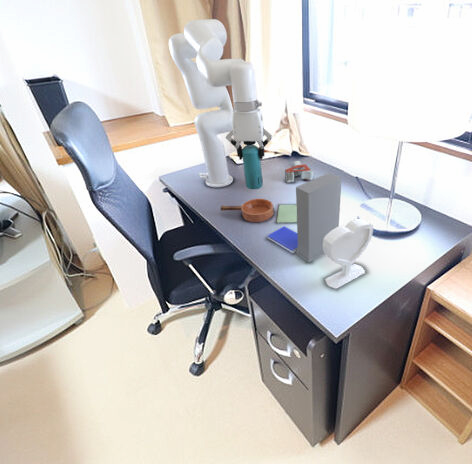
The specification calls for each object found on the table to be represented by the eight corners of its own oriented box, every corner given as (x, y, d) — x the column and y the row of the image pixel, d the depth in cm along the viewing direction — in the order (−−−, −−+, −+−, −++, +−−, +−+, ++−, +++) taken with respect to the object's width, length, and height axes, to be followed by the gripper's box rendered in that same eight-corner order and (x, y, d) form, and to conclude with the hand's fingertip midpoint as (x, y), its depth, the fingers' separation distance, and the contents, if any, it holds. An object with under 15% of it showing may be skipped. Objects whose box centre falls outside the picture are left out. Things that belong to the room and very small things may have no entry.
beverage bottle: (260, 194, 117) (255, 141, 105) (243, 192, 118) (236, 139, 106) (265, 185, 122) (261, 134, 111) (249, 184, 123) (243, 133, 112)
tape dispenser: (297, 167, 166) (273, 179, 152) (297, 157, 163) (272, 168, 149) (326, 173, 157) (303, 186, 143) (326, 163, 154) (303, 175, 140)
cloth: (276, 222, 121) (276, 222, 120) (279, 205, 131) (279, 204, 131) (303, 222, 120) (303, 222, 120) (303, 205, 131) (303, 204, 131)
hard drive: (309, 239, 109) (284, 225, 116) (292, 250, 104) (267, 235, 111) (309, 242, 110) (284, 229, 117) (292, 253, 105) (267, 239, 112)
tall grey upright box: (325, 237, 112) (327, 171, 98) (338, 245, 109) (342, 178, 94) (296, 254, 105) (293, 186, 90) (308, 263, 101) (308, 193, 87)
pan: (240, 222, 121) (238, 214, 119) (245, 206, 131) (244, 198, 129) (271, 222, 121) (271, 214, 119) (274, 206, 131) (274, 198, 129)
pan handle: (220, 210, 124) (220, 207, 124) (221, 208, 126) (221, 205, 125) (242, 210, 124) (241, 207, 124) (242, 208, 126) (242, 205, 125)
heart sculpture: (330, 291, 91) (333, 241, 80) (320, 281, 94) (320, 232, 84) (369, 270, 98) (376, 221, 88) (358, 261, 101) (363, 213, 91)
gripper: (273, 102, 105) (276, 154, 116) (221, 102, 106) (229, 154, 116) (271, 108, 99) (274, 162, 110) (216, 109, 100) (224, 162, 110)
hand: (251, 157), depth 113 cm, fingers closed on beverage bottle, 6 cm apart
